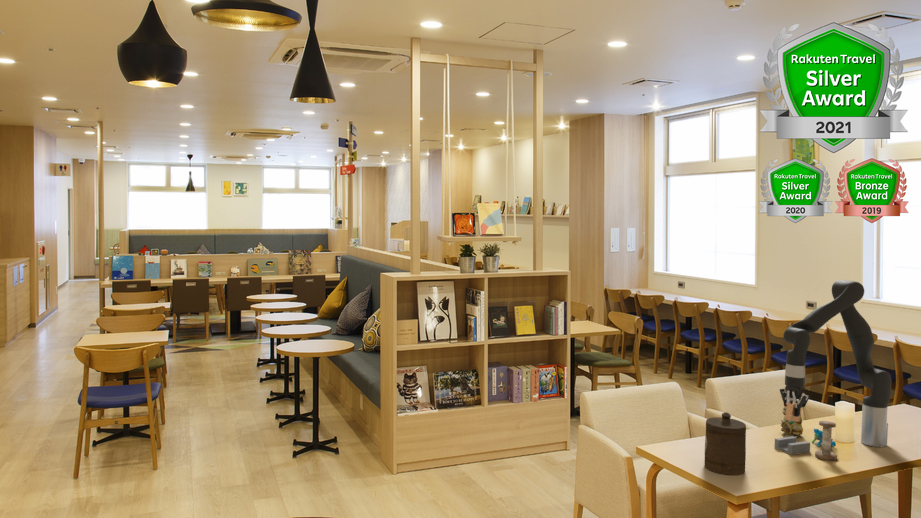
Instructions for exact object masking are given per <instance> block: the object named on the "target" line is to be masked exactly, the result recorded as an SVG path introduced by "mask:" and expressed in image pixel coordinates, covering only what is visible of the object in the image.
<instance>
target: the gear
mask: <svg viewBox="0 0 921 518" xmlns="http://www.w3.org/2000/svg"><path fill="white" fill-rule="evenodd" d="M813 433H814V434H813V438H814V439H813V440H811V443H812V444H814V443H815V441H818V442H817V443H816V447H820V446H821V445H822V436H823V430H819V428H814V429H813ZM836 445H837V444H836V442H835V441H834V439H833V438H832V437H831V447H834V448H835V447H836Z"/></svg>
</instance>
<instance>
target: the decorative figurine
mask: <svg viewBox="0 0 921 518" xmlns="http://www.w3.org/2000/svg"><path fill="white" fill-rule="evenodd" d="M783 406H784V407H782V414H783V415H784V416H783V417H782V418H781V423H780V426H781V428H780V431H781V432H783V434H784V435H785V436H787V435H788V436H787V437H790V436H793V437H796V438H799V437H801V436H802V435H803V432H804V429H803V428H804V427H803V425H802V424H803V418H802V414H801V415H800V421H799V422H796V421H790V420H787V419H785V415H786V409H787V404H786V403H784V402H783Z"/></svg>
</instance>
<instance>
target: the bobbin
mask: <svg viewBox="0 0 921 518" xmlns="http://www.w3.org/2000/svg"><path fill="white" fill-rule="evenodd" d="M818 425H819V426H821V427H822V431H823V436H822V443H821V450H816V451H814V456H815V458H817V459H820V460H822V461H827V462H834V461H835V462H836V461H837V460H838V454H836V453H834V452H832V446H831V438H832V434H833V433H832V431H833V428H836V427H837V423H835V422H833V421H830V420H819V422H818Z"/></svg>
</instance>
